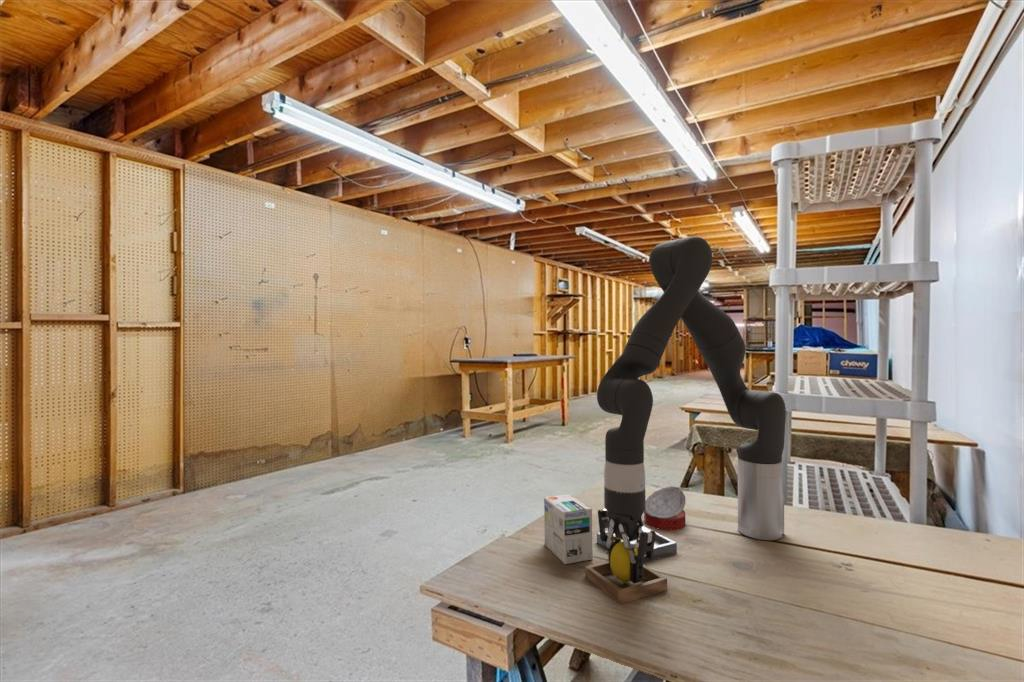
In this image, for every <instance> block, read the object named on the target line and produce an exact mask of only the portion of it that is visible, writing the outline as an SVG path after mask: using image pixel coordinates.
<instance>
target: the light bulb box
mask: <svg viewBox="0 0 1024 682" xmlns="http://www.w3.org/2000/svg"><path fill="white" fill-rule="evenodd" d="M543 507H544V508H543V509H544V510H543V511H544V513H543V514H544V515H543V517H544V520H543V521H544V525H543V527H544V545H545V546H546V547H547V548H548V549H549V550H550V551H551V552H552V553H553V554H554V555H555V556H556V557H557V558H558V559H559V560H560V561H561V562H562V563H563V564H564V565H567V564H574V563H579V562H584V561H591V560H593V559H594V558H593V553H594V552H593V509H592V508H591V507H590V506H588V505H587V504H585V503H583V502H582V501H580V500H579V499H577V498H576V497H574V496H573V495H571V493H569V494H568V493H567V494H559V495H550V496H548V495H547V496H544V497H543Z"/></svg>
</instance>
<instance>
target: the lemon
mask: <svg viewBox="0 0 1024 682" xmlns="http://www.w3.org/2000/svg"><path fill="white" fill-rule="evenodd" d="M634 551H635V555H638V552H637V549H636V548H635V549H634ZM630 562H631V560H630V556H629V552H628V550H626V549H625V545H624V541H623V542H619V543H617V544H616V545H615V546H614V547H613V549H612V552H611V556H610V566H611V570H612V572H611V573H612V574H613V576H615V578H616V579H618V580H619V581H621V582H622V583H623V584H628V583H630V582H631V581H630Z"/></svg>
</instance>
